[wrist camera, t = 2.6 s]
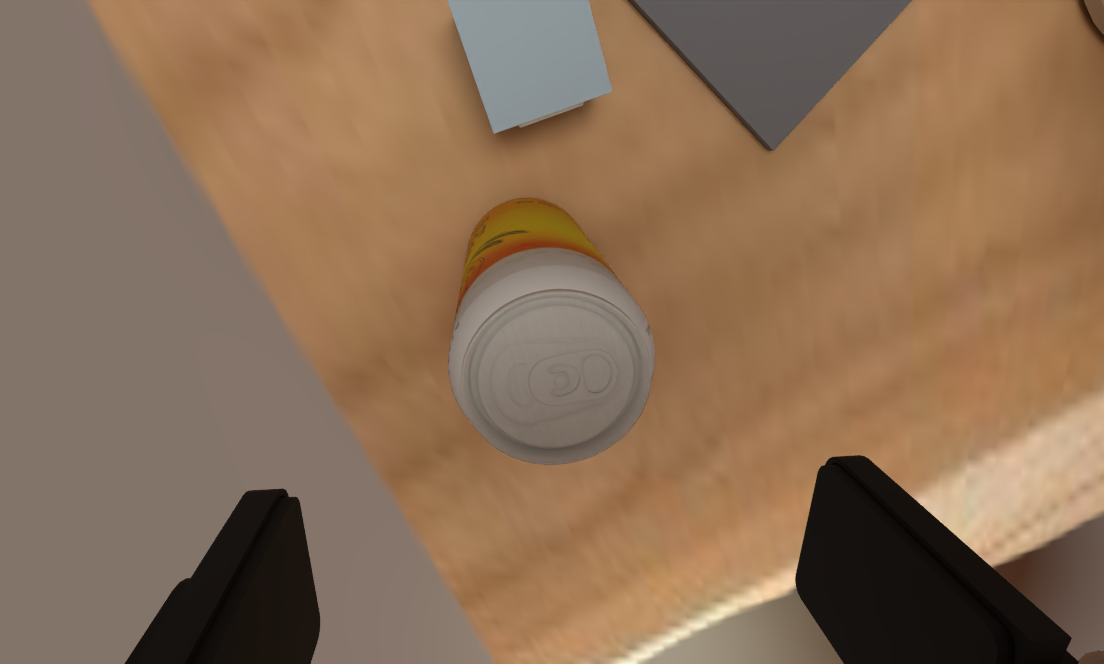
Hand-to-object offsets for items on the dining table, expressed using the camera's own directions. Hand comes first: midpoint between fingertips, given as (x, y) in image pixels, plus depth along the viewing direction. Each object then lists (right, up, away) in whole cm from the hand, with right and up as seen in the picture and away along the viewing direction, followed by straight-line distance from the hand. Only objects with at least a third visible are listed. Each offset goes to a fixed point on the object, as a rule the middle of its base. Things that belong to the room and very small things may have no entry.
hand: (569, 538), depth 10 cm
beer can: (-2, +8, +19) cm, 21 cm away
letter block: (-2, +16, +16) cm, 23 cm away
